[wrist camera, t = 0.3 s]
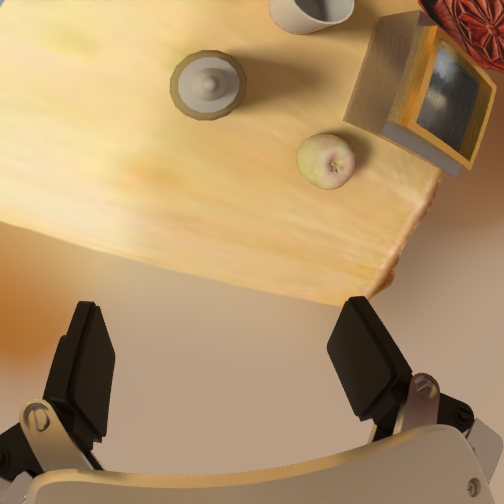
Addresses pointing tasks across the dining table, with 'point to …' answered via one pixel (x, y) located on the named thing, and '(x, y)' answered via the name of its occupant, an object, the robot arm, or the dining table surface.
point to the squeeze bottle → (207, 85)
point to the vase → (472, 27)
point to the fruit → (326, 161)
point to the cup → (309, 14)
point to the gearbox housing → (422, 92)
